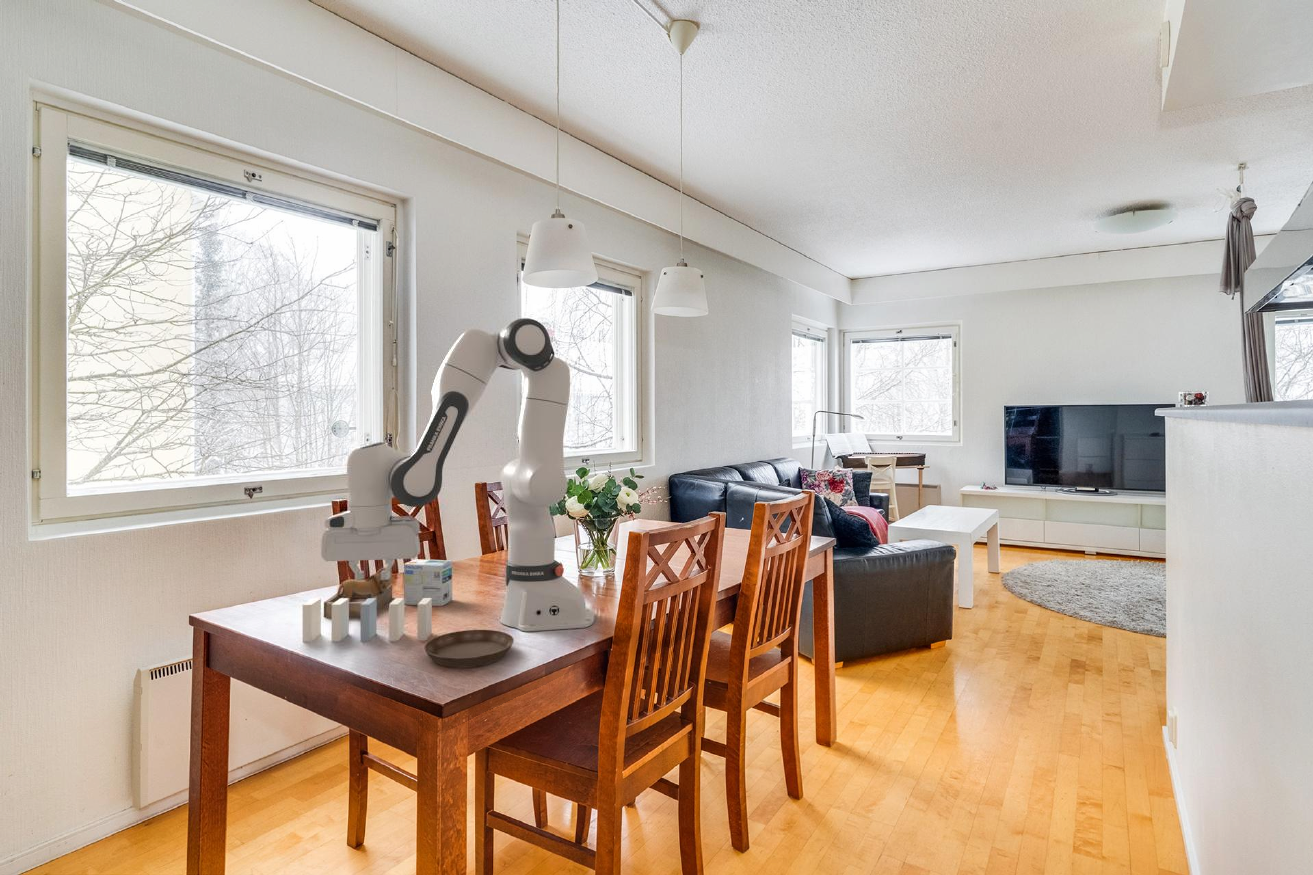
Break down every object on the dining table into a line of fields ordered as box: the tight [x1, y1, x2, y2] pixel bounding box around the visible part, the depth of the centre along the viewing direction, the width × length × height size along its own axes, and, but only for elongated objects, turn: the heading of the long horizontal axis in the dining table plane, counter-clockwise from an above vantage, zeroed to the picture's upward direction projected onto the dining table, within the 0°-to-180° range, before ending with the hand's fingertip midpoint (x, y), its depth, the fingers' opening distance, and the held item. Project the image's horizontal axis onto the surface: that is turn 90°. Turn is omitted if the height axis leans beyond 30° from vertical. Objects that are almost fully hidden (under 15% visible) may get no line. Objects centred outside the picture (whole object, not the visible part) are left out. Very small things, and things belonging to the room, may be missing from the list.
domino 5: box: [416, 598, 433, 642], centre depth 150 cm, size 2×5×8 cm, turn 5°
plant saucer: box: [423, 629, 515, 669], centre depth 139 cm, size 18×18×3 cm
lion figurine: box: [336, 566, 394, 602], centre depth 172 cm, size 15×5×9 cm, turn 124°
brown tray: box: [323, 584, 393, 619], centre depth 172 cm, size 11×19×4 cm, turn 5°
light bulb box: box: [403, 558, 453, 607], centre depth 177 cm, size 11×7×11 cm, turn 84°
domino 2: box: [331, 598, 350, 642], centre depth 148 cm, size 2×5×8 cm, turn 5°
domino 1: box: [302, 597, 322, 643], centre depth 148 cm, size 2×5×8 cm, turn 5°
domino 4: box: [388, 597, 405, 642], centre depth 149 cm, size 2×5×8 cm, turn 5°
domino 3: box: [359, 598, 378, 642], centre depth 149 cm, size 2×5×8 cm, turn 5°
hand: (372, 579), depth 149 cm, fingers open, 4 cm apart
